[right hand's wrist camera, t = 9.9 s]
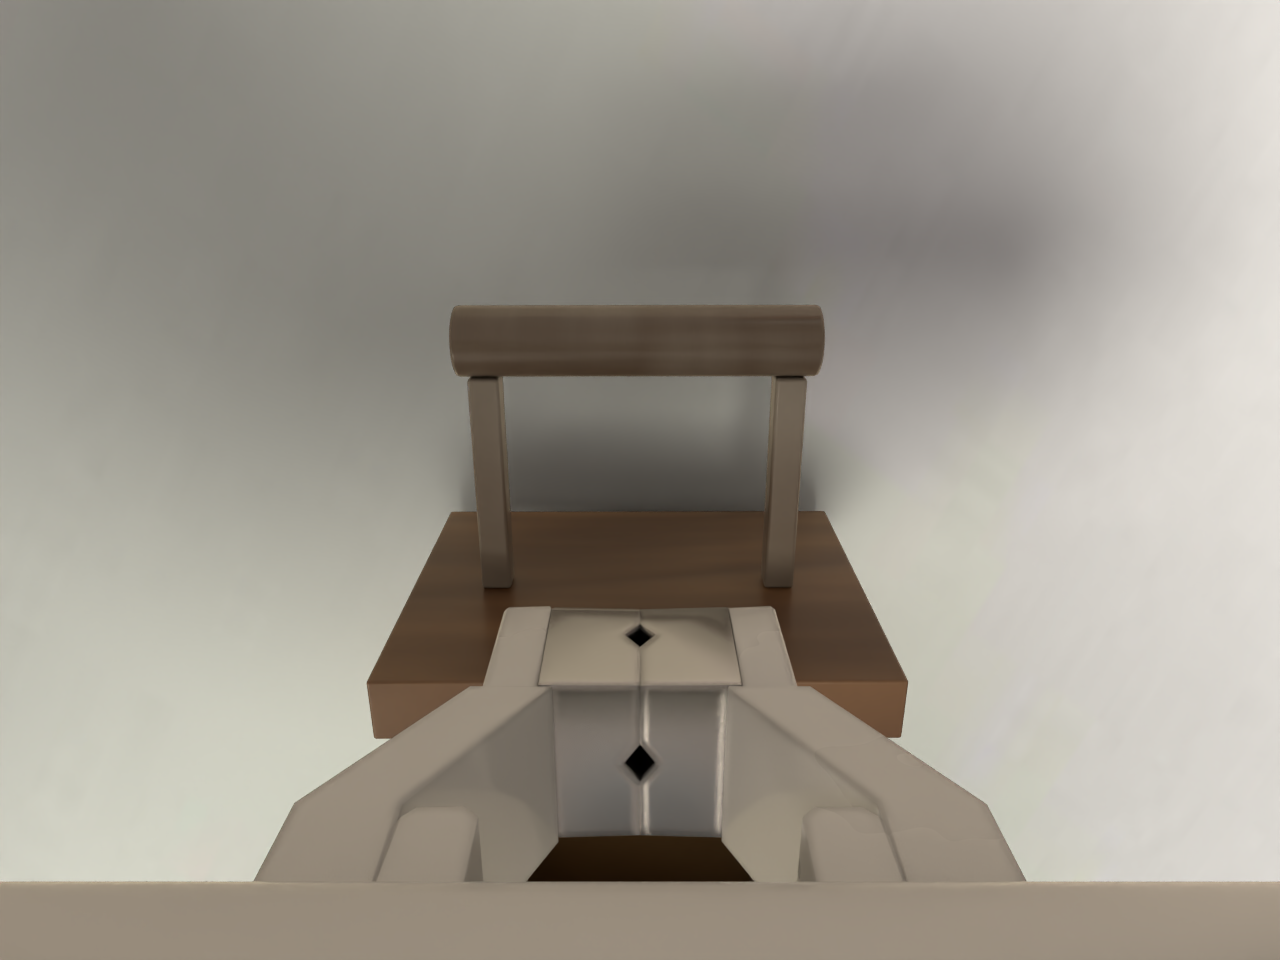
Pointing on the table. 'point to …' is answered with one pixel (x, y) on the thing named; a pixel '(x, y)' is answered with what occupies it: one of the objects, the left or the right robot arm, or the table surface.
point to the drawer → (636, 542)
